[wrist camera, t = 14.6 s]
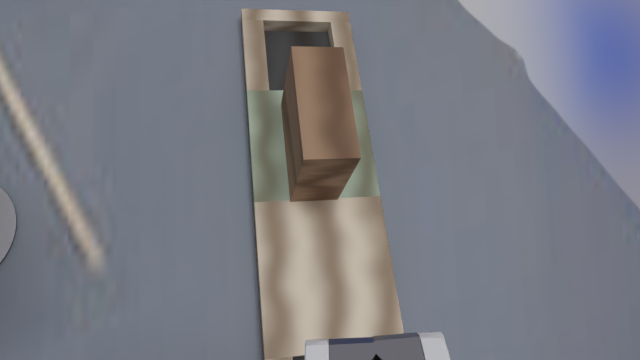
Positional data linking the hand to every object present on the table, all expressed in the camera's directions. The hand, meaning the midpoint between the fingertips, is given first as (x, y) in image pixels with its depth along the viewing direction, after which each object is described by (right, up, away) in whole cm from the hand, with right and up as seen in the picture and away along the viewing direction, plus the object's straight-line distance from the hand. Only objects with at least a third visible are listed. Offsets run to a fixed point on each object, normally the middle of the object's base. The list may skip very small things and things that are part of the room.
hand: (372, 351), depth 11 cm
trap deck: (-2, -1, +51) cm, 51 cm away
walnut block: (-3, +8, +51) cm, 52 cm away
